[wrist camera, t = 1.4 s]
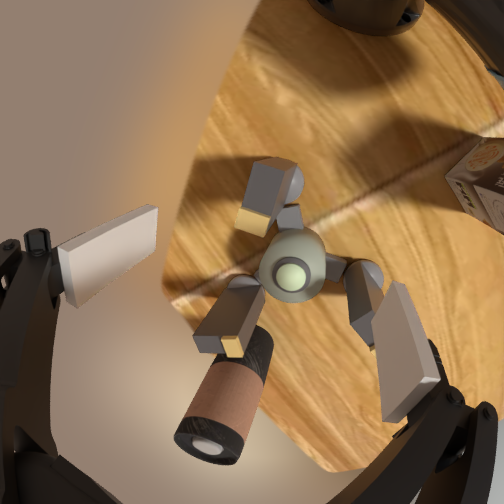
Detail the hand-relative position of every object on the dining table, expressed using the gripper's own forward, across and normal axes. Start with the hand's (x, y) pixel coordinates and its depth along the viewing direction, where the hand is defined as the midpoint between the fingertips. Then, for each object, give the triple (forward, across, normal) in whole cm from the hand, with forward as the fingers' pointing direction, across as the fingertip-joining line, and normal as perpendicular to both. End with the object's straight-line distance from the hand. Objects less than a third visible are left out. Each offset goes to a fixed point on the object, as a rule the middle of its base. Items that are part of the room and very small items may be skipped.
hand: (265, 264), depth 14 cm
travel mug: (+19, -1, -23) cm, 30 cm away
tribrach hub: (+19, +2, -7) cm, 20 cm away
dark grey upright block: (+19, -2, +1) cm, 19 cm away
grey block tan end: (+19, +11, -8) cm, 23 cm away
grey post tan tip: (+18, -3, -14) cm, 24 cm away
